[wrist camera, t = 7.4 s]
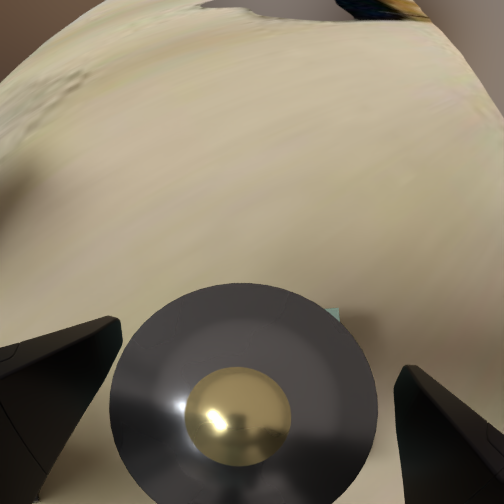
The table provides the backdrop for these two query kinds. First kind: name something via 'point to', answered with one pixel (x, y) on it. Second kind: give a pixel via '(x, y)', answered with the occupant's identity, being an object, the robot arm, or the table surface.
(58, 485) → the table surface
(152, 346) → the lidded jar
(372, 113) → the table surface
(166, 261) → the table surface
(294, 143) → the table surface
